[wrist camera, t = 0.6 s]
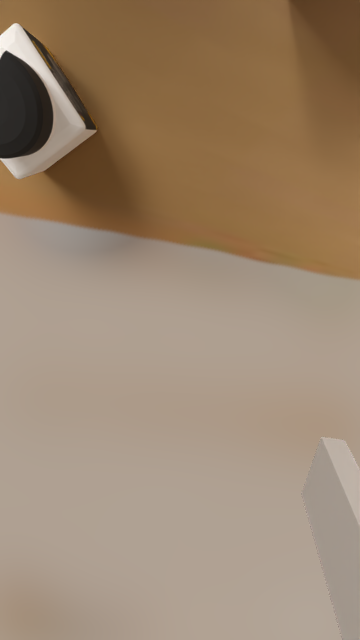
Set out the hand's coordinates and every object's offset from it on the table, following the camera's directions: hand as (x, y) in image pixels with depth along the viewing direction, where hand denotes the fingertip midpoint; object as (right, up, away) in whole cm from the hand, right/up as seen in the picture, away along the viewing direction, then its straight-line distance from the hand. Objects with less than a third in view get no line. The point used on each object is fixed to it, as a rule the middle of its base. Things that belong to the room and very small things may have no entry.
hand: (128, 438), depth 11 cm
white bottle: (-11, +23, +18) cm, 31 cm away
